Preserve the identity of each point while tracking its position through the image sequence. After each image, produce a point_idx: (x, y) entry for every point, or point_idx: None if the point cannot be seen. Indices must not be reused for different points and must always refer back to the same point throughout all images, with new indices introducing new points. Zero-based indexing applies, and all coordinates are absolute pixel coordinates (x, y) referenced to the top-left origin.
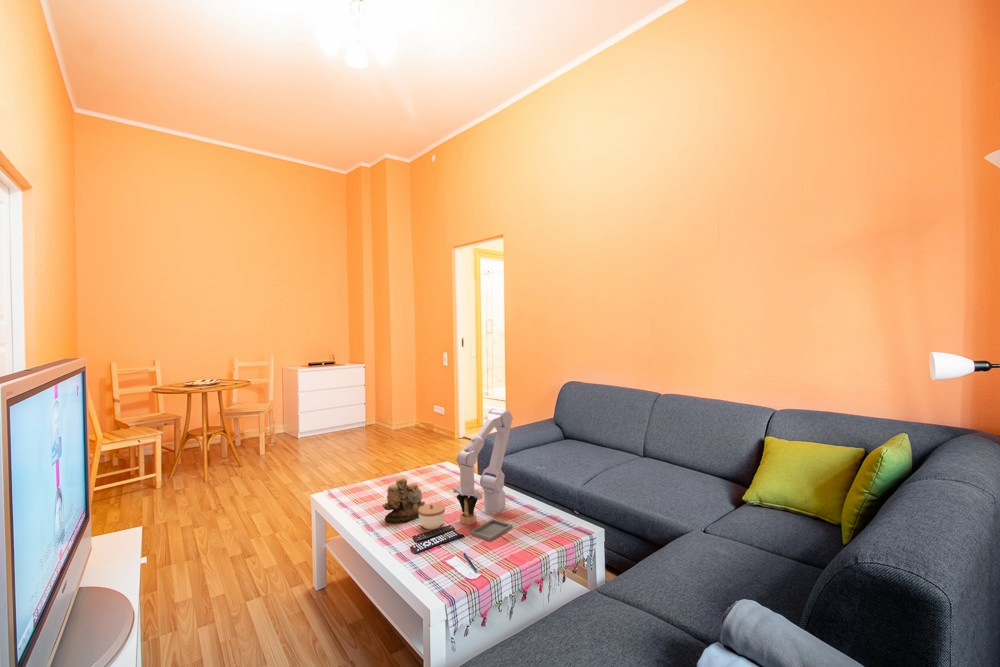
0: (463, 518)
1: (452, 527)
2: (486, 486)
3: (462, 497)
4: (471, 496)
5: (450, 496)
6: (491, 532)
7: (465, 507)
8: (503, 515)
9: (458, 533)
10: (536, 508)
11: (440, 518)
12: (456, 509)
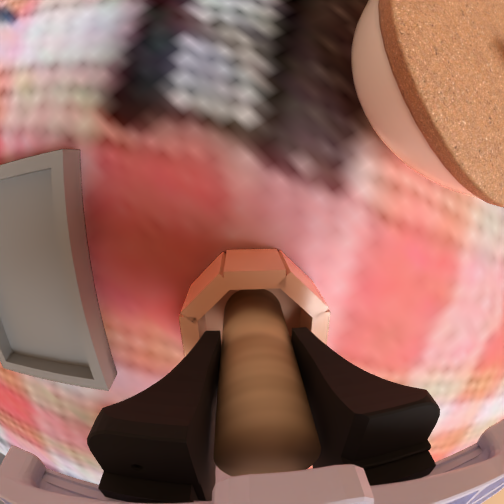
0: (244, 267)
1: (290, 166)
2: None
3: (340, 445)
4: (145, 498)
5: (483, 414)
6: (15, 262)
7: (259, 358)
8: None
9: (173, 118)
10: None
11: (361, 43)
12: (424, 374)
